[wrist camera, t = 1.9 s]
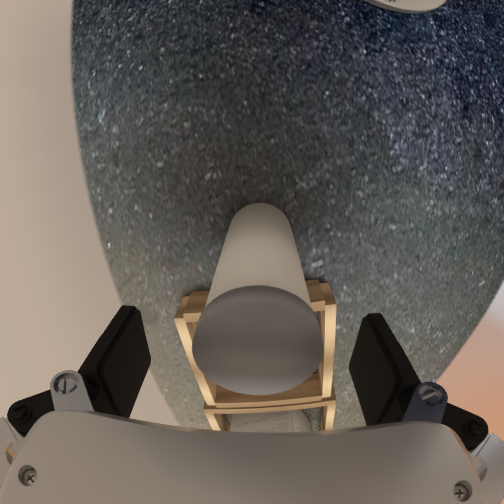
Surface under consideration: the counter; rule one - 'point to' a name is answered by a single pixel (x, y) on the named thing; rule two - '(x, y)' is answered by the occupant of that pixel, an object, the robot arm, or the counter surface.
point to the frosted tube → (258, 310)
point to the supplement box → (271, 422)
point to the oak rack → (300, 397)
